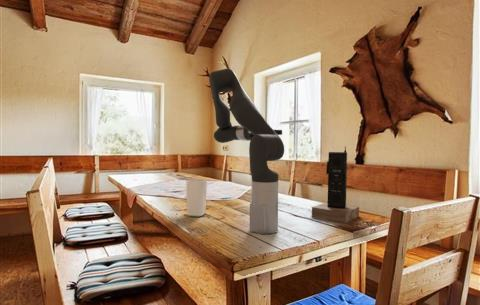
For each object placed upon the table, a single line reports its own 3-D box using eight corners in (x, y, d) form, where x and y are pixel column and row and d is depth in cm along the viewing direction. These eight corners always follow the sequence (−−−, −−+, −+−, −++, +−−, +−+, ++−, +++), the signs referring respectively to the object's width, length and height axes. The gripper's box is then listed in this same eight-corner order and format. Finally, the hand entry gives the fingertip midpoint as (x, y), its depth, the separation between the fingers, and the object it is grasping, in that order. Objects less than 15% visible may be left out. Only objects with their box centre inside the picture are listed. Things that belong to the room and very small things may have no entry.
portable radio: (324, 207, 123) (325, 146, 122) (327, 204, 128) (328, 146, 127) (344, 209, 119) (345, 146, 118) (346, 206, 125) (347, 146, 124)
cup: (202, 218, 119) (202, 181, 119) (185, 217, 121) (185, 180, 120) (207, 213, 126) (207, 179, 126) (191, 213, 128) (191, 178, 127)
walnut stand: (345, 223, 113) (345, 212, 113) (311, 216, 123) (311, 207, 122) (358, 216, 124) (359, 206, 123) (327, 211, 133) (327, 202, 133)
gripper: (237, 123, 135) (266, 122, 124) (257, 125, 146) (285, 124, 135) (237, 140, 135) (266, 140, 125) (257, 140, 146) (285, 140, 135)
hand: (276, 132), depth 130 cm, fingers open, 8 cm apart
